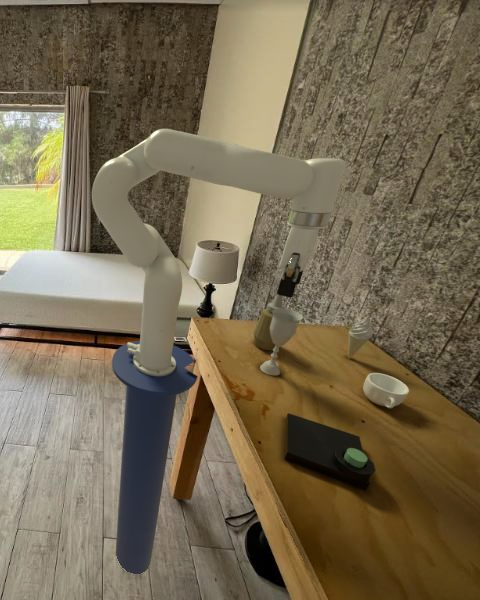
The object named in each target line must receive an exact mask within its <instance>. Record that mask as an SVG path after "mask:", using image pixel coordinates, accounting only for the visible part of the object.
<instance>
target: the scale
mask: <svg viewBox="0 0 480 600" xmlns="http://www.w3.org/2000/svg"><path fill="white" fill-rule="evenodd" d="M349 448H354V449H357V450H359V451H361V452H363V453H364V451H363V446H362V442H361V437H360V435H356V434H353V433H351V432H347V431H344V430H341V429H338V428H336V427H332V426H328V425H325V424H322V423H320V422H317V421H314V420H312V419H311V420H310V419H307V418H304V417H302V416H299V415H296V414H292V413H289V412H287V414H286V416H285V420H284V449H283V450H284V453H283V455H284V457H283V459H284V460H286V461H288V462H291V463H293V464H295V465H299V466H301V467H303V468H306V469H309V470H310V471H314V472H317V473H319V474H322V475H324V476H327V477H329V478H332V479H334V480H337V481H339V482H342V483H344V484H347V485H350V486H352V487H354V488H357V489H360V490H363V491H367V490H368V488H369V486H370V484H371V481H370V479H372V477H373V476H374V474H375V472H376V467H375V464H374V462H373V461H372V460H371V459H370V458H369V457H368V456H367V455H366V457H367V462H366V464H365V465H364V467H363V468H357V467H354V466H352V465H351V464H349V463H348V462H346V460H345V459H344V455H345V453H346V451H347V449H349Z"/></svg>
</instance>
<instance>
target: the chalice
mask: <svg viewBox="0 0 480 600" xmlns="http://www.w3.org/2000/svg"><path fill="white" fill-rule="evenodd" d="M272 313H273V318H272V322H271V325H270V334H271V338H272V342H273V343H274V344H275V348H274V349H273V350H272V351H273V352H272V353H271V354H270V356H271V359H268V360H265V361H264V362H263V363H262V364H261V365H260V366H259V369H260V370H261V372H263V373H264V374H266V375H269V376H279V375H280V374H281V370H280V366H279V364H278V362H276V359H277V358H278V353H279V352H280V347H282V346H284V345H286V344H287V343H288V342H289V341H290V340H291V339H292V338H293V337H294V336H295V335H296V332H297V329H298V326H299V323H300V321H302V319H304V317H303V315H302V314H301V313H300V312H299V311H296V310H294V309H290V308H286V307H285V308H277V309H274V310H273V311H272Z"/></svg>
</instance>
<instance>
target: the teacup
mask: <svg viewBox="0 0 480 600" xmlns="http://www.w3.org/2000/svg"><path fill="white" fill-rule="evenodd" d="M362 390H363V394H364V395H365V397H366V398H367V399H368V400H369V401H370V402H372V403H374V404H376V405H378V406H381V407H386V408H387V409H393V408H394V407H397V406H399V405H400V404H402V403H403V402H404V401H405V399H406V398H407V397H408V395H409V393H410V389H409V387H408V386H407V385H406V384H405V383H404V382H402V381H401V380H399V379H397V378H396V377H394V376H390V375H388V374H384V373H380V372H371V373H369V374H368V375H367V376H366V377H365V380H364V382H363V386H362Z"/></svg>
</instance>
